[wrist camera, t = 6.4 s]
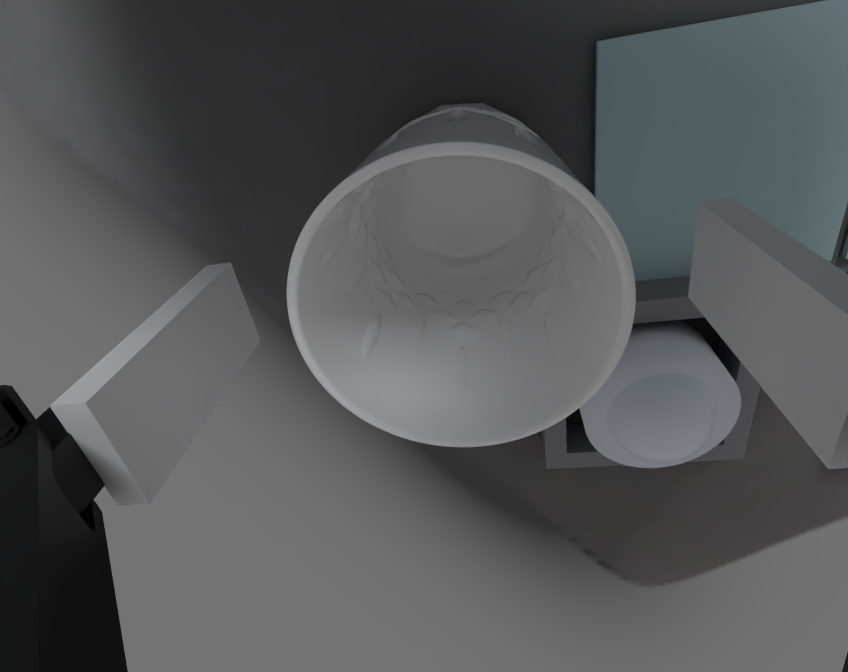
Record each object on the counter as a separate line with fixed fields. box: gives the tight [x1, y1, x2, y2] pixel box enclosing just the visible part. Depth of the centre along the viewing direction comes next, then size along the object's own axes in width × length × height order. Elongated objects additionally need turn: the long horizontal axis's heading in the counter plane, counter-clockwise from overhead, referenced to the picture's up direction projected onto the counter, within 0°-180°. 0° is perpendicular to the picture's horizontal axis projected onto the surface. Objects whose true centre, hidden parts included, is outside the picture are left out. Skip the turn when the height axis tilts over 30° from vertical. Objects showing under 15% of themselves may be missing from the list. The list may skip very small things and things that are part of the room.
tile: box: [594, 0, 848, 281], centre depth 18 cm, size 9×9×1 cm
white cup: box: [287, 103, 636, 447], centre depth 16 cm, size 8×8×10 cm
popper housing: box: [541, 276, 761, 469], centre depth 23 cm, size 9×9×2 cm
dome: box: [579, 320, 741, 468], centre depth 21 cm, size 6×6×5 cm
